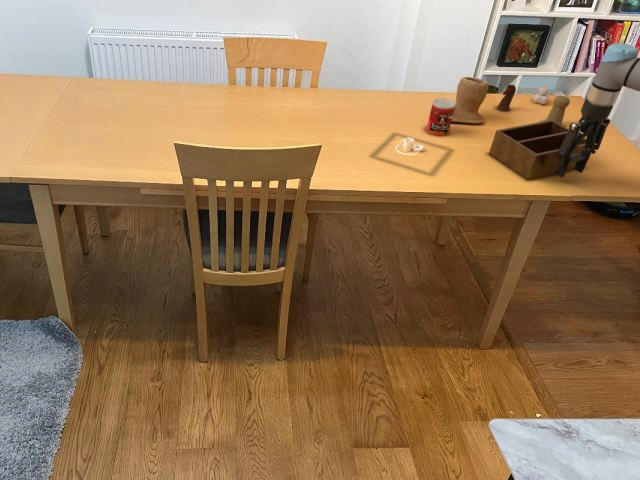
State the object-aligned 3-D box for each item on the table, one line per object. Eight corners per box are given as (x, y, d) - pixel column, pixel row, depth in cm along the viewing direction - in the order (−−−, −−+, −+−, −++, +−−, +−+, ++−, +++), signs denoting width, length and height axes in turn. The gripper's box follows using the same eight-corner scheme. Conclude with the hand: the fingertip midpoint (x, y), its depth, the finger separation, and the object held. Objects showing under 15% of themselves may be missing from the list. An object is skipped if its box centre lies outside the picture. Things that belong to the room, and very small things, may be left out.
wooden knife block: (595, 176, 186) (607, 150, 180) (538, 189, 179) (548, 163, 173) (542, 144, 202) (552, 119, 196) (488, 155, 194) (496, 130, 189)
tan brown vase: (478, 114, 219) (490, 74, 209) (484, 128, 210) (496, 87, 200) (437, 111, 220) (447, 71, 210) (441, 124, 211) (451, 84, 201)
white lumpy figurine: (541, 100, 231) (548, 80, 226) (549, 107, 226) (557, 87, 221) (528, 100, 230) (535, 80, 225) (536, 107, 225) (544, 87, 220)
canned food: (426, 136, 204) (434, 106, 196) (424, 126, 210) (432, 96, 202) (449, 138, 203) (457, 108, 196) (446, 128, 209) (454, 98, 202)
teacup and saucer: (424, 150, 196) (427, 138, 193) (416, 159, 191) (419, 148, 188) (400, 142, 199) (402, 131, 197) (391, 152, 194) (393, 140, 191)
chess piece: (493, 108, 224) (502, 82, 217) (505, 107, 225) (514, 81, 218) (500, 113, 220) (508, 87, 214) (512, 112, 221) (521, 86, 215)
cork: (543, 128, 212) (554, 99, 205) (543, 121, 216) (553, 92, 209) (561, 131, 211) (573, 101, 203) (560, 124, 215) (571, 95, 208)
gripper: (614, 92, 172) (583, 162, 187) (563, 101, 166) (535, 172, 181) (635, 102, 167) (601, 173, 182) (583, 111, 160) (553, 184, 175)
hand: (568, 172), depth 181 cm, fingers closed on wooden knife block, 7 cm apart
